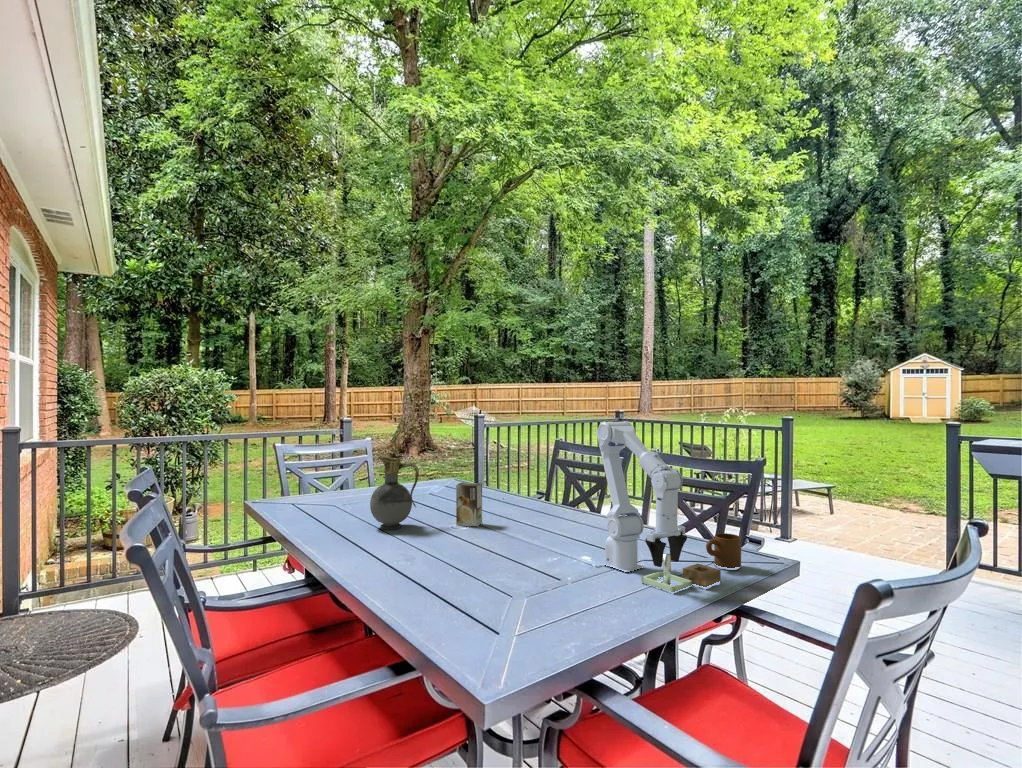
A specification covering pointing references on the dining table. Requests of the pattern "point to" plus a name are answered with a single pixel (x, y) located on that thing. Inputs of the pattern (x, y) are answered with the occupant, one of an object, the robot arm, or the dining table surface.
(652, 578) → the tray
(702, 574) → the walnut block
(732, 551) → the mug
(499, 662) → the dining table surface
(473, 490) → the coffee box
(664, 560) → the pin
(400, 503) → the pitcher
